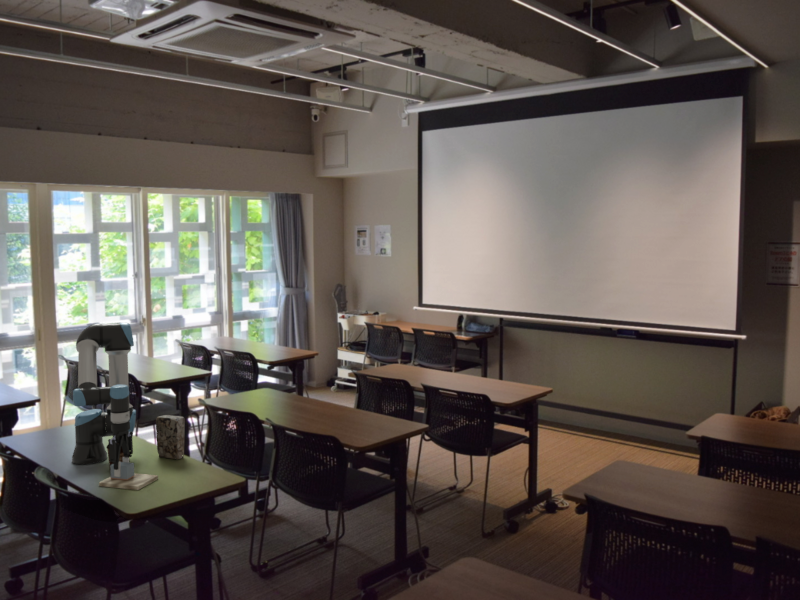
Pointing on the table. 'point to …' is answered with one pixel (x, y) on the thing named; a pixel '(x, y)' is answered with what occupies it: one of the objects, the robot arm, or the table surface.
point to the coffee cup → (120, 455)
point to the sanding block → (124, 471)
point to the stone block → (170, 436)
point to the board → (130, 482)
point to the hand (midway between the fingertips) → (121, 474)
